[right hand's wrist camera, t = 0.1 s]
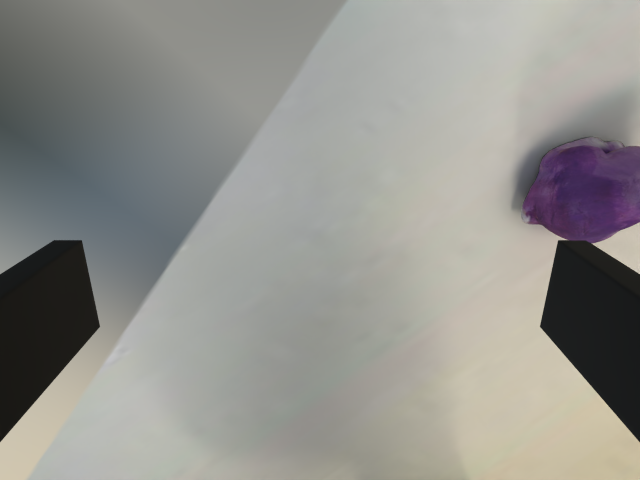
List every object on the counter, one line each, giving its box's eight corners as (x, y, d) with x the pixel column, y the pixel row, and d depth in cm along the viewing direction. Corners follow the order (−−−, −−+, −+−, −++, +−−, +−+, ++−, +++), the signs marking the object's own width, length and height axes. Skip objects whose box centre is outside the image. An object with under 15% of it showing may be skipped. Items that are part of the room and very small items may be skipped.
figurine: (654, 131, 38) (848, 166, 24) (600, 238, 42) (743, 323, 28) (553, 105, 37) (693, 126, 23) (507, 217, 41) (605, 292, 27)
